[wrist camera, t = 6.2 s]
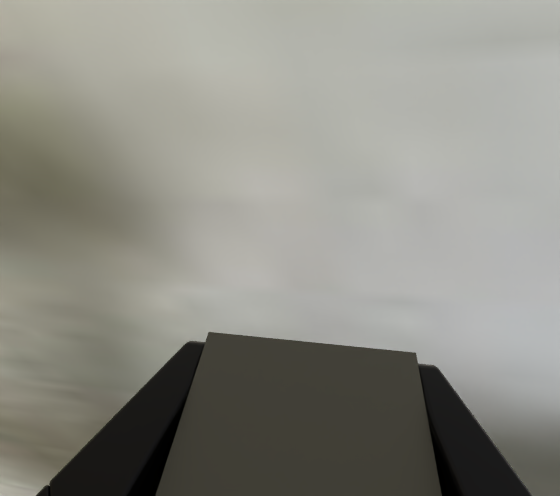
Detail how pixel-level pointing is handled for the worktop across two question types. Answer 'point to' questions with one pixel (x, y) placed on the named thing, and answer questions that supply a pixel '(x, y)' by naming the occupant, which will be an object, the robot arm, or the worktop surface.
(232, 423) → the shaft
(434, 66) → the worktop surface
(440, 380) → the robot arm
